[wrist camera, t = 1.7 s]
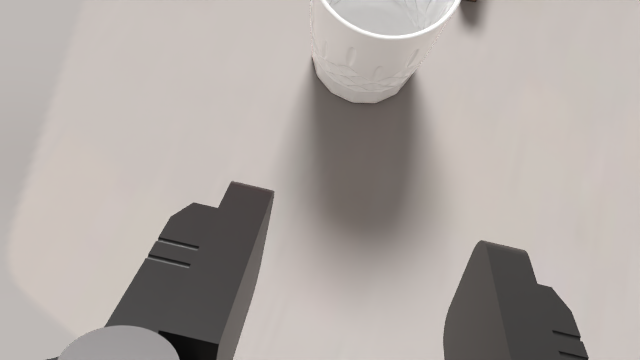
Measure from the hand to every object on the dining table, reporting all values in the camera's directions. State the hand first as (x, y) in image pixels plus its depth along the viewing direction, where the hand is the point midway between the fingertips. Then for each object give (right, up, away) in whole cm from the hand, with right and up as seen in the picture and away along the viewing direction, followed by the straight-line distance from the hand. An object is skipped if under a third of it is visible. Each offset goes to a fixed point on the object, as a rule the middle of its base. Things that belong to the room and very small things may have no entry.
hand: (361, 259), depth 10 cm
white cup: (+2, +9, +30) cm, 31 cm away
